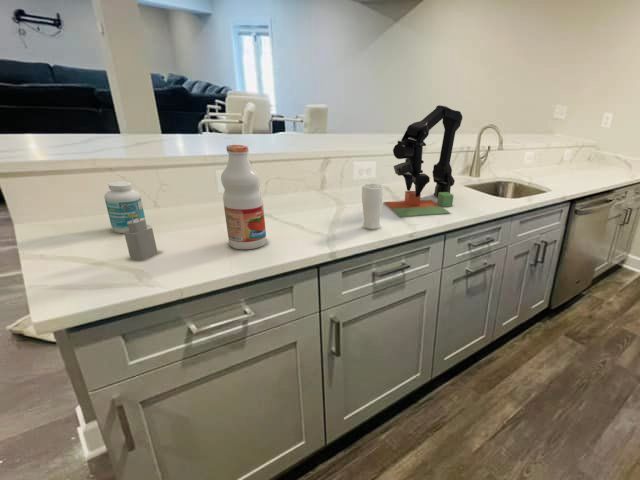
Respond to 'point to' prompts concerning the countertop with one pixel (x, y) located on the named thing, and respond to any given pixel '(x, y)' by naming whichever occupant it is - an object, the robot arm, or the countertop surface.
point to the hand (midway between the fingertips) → (412, 193)
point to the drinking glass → (371, 205)
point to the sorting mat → (416, 208)
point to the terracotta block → (412, 198)
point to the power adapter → (140, 239)
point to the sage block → (445, 199)
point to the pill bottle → (122, 205)
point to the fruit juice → (243, 201)
